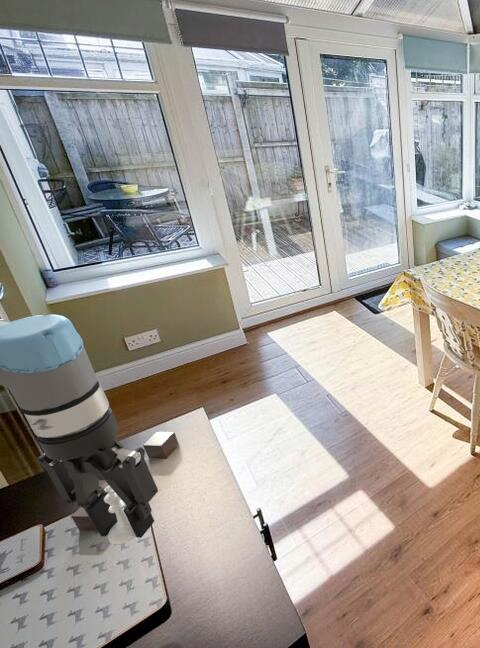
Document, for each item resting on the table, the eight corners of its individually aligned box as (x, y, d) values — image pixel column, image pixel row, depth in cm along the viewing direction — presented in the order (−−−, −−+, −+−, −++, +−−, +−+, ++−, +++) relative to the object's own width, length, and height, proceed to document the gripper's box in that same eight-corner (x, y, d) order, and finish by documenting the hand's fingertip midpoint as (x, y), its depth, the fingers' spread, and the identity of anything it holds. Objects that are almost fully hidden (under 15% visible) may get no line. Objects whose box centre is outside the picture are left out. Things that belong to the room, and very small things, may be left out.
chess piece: (134, 511, 70) (114, 469, 66) (155, 520, 69) (137, 478, 65) (100, 538, 66) (77, 496, 61) (123, 549, 64) (100, 506, 60)
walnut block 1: (79, 530, 78) (70, 516, 76) (98, 510, 81) (90, 496, 80) (100, 531, 78) (92, 516, 76) (118, 511, 81) (111, 497, 80)
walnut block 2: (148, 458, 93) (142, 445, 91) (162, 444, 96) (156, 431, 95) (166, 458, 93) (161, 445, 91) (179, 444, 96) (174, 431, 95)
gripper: (-24, 438, 54) (48, 551, 63) (116, 443, 54) (166, 554, 64) (36, 399, 61) (93, 505, 70) (160, 403, 61) (199, 508, 71)
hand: (128, 528), depth 67 cm, fingers closed on chess piece, 5 cm apart
